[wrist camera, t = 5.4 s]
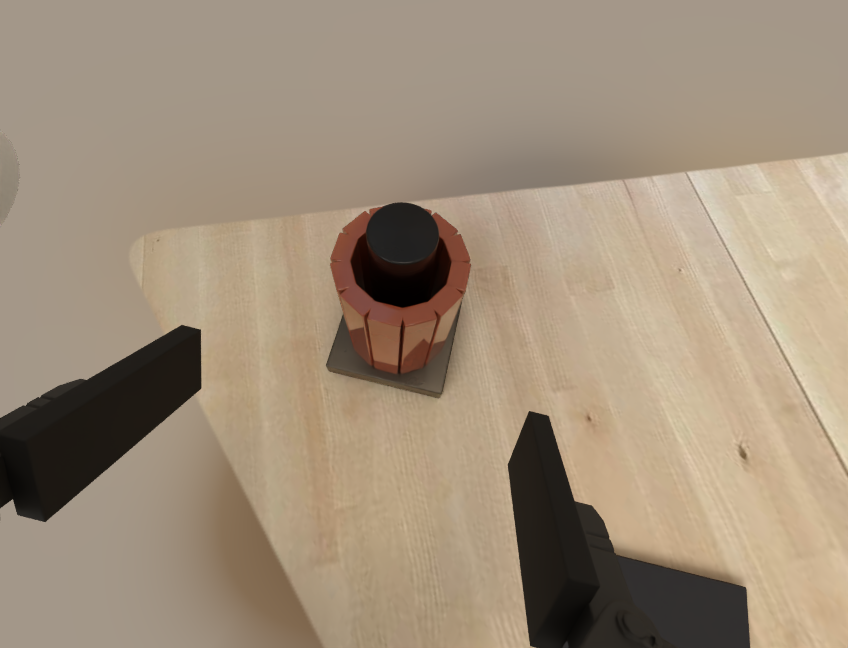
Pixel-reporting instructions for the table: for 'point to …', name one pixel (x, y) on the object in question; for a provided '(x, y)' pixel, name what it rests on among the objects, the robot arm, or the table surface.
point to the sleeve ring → (390, 325)
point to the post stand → (398, 293)
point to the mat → (688, 606)
